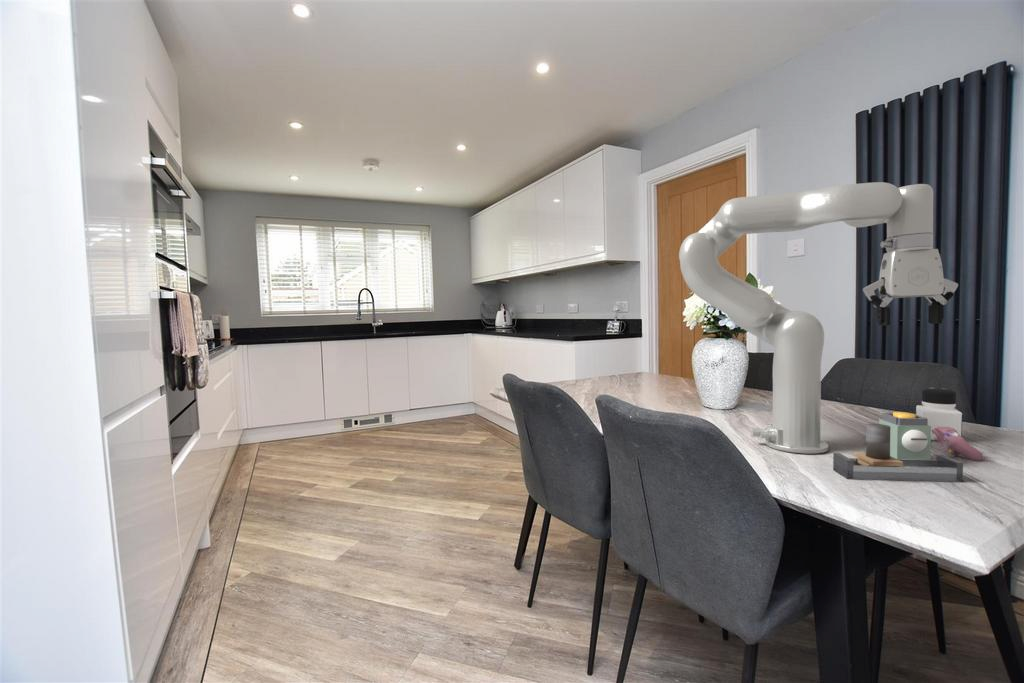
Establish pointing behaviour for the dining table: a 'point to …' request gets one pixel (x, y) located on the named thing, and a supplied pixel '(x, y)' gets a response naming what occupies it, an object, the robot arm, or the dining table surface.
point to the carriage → (877, 447)
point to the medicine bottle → (940, 409)
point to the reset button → (904, 415)
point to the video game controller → (955, 443)
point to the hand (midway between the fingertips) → (909, 324)
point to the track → (901, 469)
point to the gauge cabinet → (908, 436)
